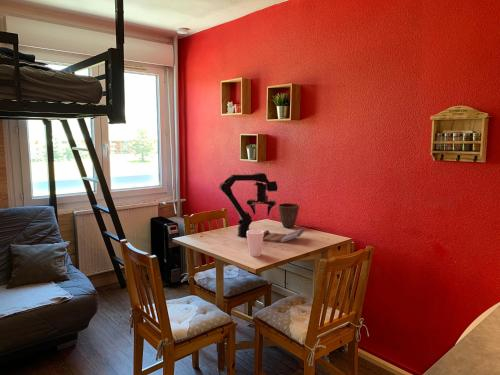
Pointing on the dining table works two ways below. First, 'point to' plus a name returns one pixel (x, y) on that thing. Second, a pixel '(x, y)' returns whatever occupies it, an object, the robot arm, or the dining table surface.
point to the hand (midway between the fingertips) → (261, 215)
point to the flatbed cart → (272, 237)
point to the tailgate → (292, 235)
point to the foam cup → (255, 242)
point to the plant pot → (288, 214)
